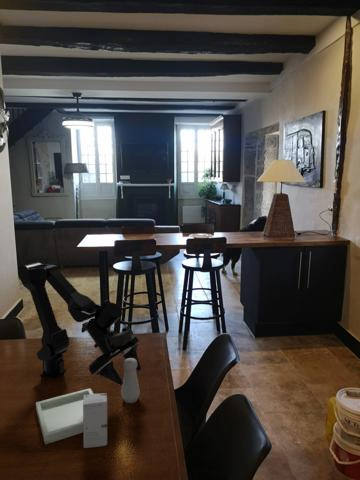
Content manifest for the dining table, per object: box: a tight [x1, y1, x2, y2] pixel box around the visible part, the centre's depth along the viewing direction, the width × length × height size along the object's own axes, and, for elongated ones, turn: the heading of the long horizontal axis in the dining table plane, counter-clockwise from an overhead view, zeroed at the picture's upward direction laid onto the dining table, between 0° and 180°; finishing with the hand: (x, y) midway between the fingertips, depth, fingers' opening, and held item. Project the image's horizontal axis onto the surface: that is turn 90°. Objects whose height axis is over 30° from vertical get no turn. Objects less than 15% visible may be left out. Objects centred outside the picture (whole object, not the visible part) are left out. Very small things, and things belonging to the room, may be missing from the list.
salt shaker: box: [120, 358, 141, 404], centre depth 112 cm, size 6×6×13 cm
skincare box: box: [82, 392, 108, 449], centre depth 94 cm, size 6×4×12 cm
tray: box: [35, 387, 94, 445], centre depth 104 cm, size 16×16×2 cm
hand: (131, 377), depth 111 cm, fingers open, 9 cm apart
